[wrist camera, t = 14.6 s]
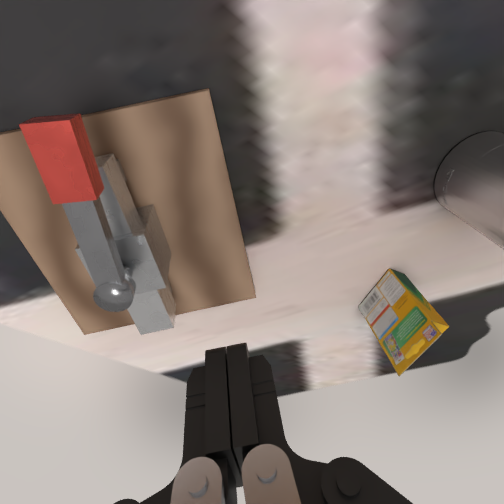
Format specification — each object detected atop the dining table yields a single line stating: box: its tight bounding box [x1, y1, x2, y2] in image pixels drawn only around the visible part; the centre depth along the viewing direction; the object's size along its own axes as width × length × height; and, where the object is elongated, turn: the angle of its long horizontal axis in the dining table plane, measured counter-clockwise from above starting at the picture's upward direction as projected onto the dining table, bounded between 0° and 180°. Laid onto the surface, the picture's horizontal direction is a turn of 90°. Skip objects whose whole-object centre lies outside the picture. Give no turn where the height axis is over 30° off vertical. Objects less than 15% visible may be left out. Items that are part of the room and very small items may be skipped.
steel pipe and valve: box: [75, 153, 176, 335], centre depth 32 cm, size 6×18×6 cm, turn 10°
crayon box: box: [359, 269, 449, 376], centre depth 41 cm, size 7×3×12 cm, turn 154°
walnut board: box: [0, 88, 256, 335], centre depth 36 cm, size 22×24×2 cm
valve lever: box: [19, 114, 136, 312], centre depth 25 cm, size 15×3×4 cm, turn 4°
